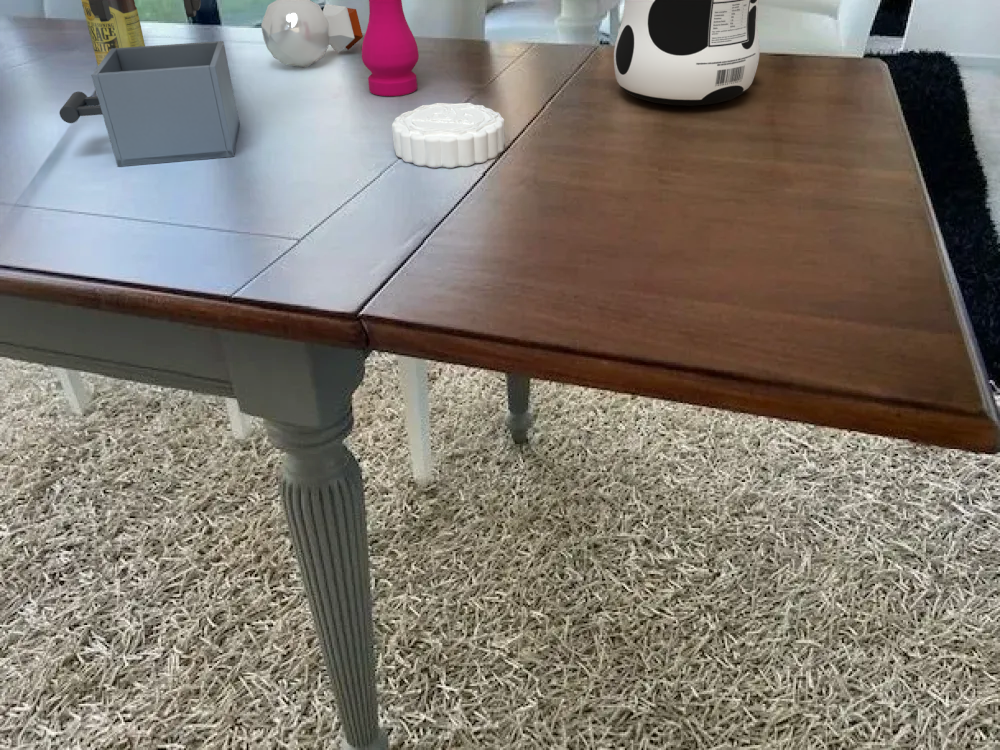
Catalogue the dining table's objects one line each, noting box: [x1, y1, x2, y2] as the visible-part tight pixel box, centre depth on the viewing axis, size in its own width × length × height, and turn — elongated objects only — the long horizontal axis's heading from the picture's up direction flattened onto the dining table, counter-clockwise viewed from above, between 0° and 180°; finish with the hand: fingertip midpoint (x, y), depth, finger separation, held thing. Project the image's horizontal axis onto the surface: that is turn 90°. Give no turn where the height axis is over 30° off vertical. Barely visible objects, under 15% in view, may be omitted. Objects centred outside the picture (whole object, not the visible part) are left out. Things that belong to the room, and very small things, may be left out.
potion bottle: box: [260, 0, 364, 68], centre depth 122 cm, size 9×10×15 cm
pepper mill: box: [361, 0, 420, 97], centre depth 106 cm, size 7×7×20 cm
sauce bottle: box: [80, 0, 146, 67], centre depth 107 cm, size 7×6×20 cm
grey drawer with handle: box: [59, 40, 241, 168], centre depth 92 cm, size 17×11×10 cm, turn 101°
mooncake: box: [391, 102, 506, 169], centre depth 91 cm, size 12×12×4 cm
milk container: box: [613, 0, 761, 107], centre depth 101 cm, size 17×17×18 cm
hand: (149, 17), depth 88 cm, fingers open, 8 cm apart
